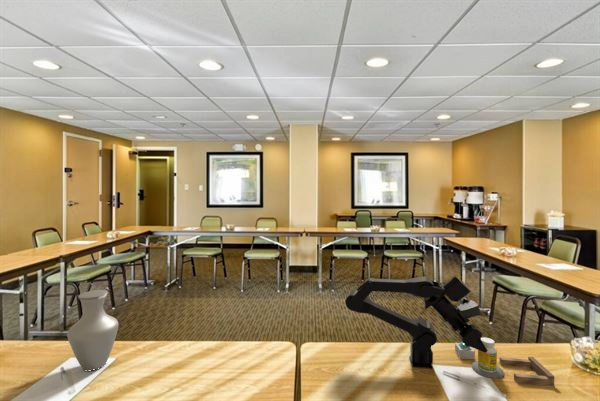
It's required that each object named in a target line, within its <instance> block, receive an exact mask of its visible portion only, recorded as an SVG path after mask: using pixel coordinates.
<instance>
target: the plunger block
mask: <svg viewBox="0 0 600 401" xmlns="http://www.w3.org/2000/svg"><path fill="white" fill-rule="evenodd" d="M454 351H455V353H456V355H457V357H458V358H459V359H466V360H467V359H468V360H469V359H470V360H476V349H475V348H472V347H469V349H461V346H460V342H459V343H458V342H455V344H454Z"/></svg>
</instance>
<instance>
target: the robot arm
mask: <svg viewBox="0 0 600 401" xmlns="http://www.w3.org/2000/svg"><path fill="white" fill-rule="evenodd" d="M372 292H384V293H385V292H387V293H405V294H408V295H412V296H415V297H419V298H423V306H424V308H425V310H427V309H429V308H430V307H431V308H433V309H434V311H435V312H436V313H437V314H438V315H439V316H440V317H441V318H442V319H443V321H444V322H446V323H447V324H448V325H449V326H450V327H451V329H452V330H453V331H454V332H456V331H458V338H459V340H460V342H463V343H464V344H465V345H466V346H467V347H469V346H470V347H472V348H473V349H474V350H477V351H478V350H480V351H482V352H484V353H486V352H487V351H488V350H487V349H486V347H485V345H484V344H483V342H482V341H481V338H483V332H482V331H480V330H479V329H478V327H477V326H476V325H475V324H468V323H469V322H470V321H471V320H470V318H474V317H477V316H478V317H479V316H481V315H482V311H481V309H480V306H479V305H478V303H477V302H476V301H474V300H471V299H470V300H469V299H467V296H468V295H469V294H471V293H472V291H471V289H470V288H469V286H467V284H466V283H465V282H464V281H463V280H461V279H460V278H459V277H457V275H453V276H452V277H451V278H450V279H448V281H446V282H445V283H444V284H443V283H442V282H439V281H435V280H432V279H431V278H430V277H428V276H418V277H412V278H407V279H395V278H394V279H391V278H390V279H389V278H372V277H368V278H366V279H365V281H364V282H363V283H362V284H361V285H360V286H358V287H357V288H356V289H353V290H351V291H350V292H349V293H348V295H347V296H346V298H345V302H344V303H345V306H346V308H347V309H348V310H349V311H351V312H356V313H358V314H368V315H371V316H372V317H374V318H377V319H378V320H380V321H383V322H385V323H387V324H389V325H391V326H394V327H395V328H398V329H399V330H402V331H403V332H406V333H408V334H409V335H410V336H411V342H410V344H409V346H410V353H409V354H410V355H409V357H408V358H409V362H410V364H411V366H412V368H420V369H433V364H434V352H433V350H432V347H433V346H434V345H435V344H436V343H437V342H438V337H437V332H436V328H435V326H434V324H433V323H431V322H430V320H429V319H424V318H423V317H421V316H417V319H415V318H414V319H412V318H409V317H408V316H405V315H403V314H401V313H398V312H396V311H394V310H392V309H389V308H387V307H386V306H383V305H381V304H379V303H377V302H374V301H373V300H372V299H371V298H369V295H370V294H371V293H372ZM453 302H457V303H458V302H460V303H459V305H456V304H455V303H453Z"/></svg>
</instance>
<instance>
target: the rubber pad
mask: <svg viewBox="0 0 600 401" xmlns="http://www.w3.org/2000/svg"><path fill="white" fill-rule="evenodd" d="M471 369H472V370H473V371H474V372H475V373H476V374H478V375H479V376H482V377H485V378H488V379H494V380H495V379H496V380H497V379H499V380H500V379H502V378H503V377H505V372H504V370H503V369H502V368H501V367H499V366H498V365H497V368H496V372H493V373H489V372H485V371H483V370H481V369H480V368H479V367H478V360H476V361H473V362H472V363H471Z"/></svg>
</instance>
